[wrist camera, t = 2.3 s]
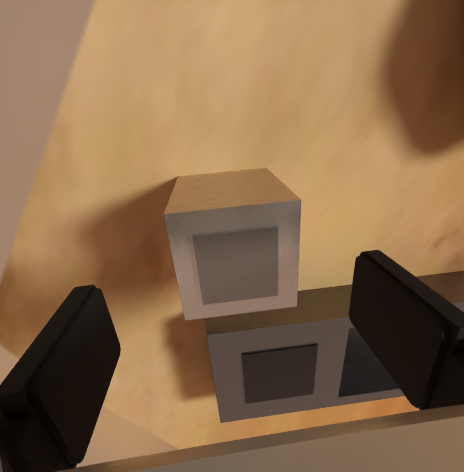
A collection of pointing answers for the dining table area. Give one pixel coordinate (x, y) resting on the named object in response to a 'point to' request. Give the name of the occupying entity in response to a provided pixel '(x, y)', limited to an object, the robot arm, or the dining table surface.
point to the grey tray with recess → (302, 355)
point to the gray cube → (234, 242)
